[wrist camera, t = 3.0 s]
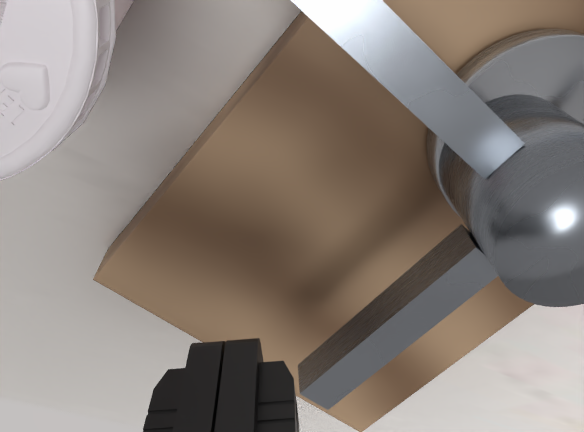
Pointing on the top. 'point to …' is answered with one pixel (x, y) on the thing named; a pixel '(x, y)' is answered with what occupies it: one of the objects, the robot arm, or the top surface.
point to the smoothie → (51, 72)
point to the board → (318, 205)
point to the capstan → (468, 181)
